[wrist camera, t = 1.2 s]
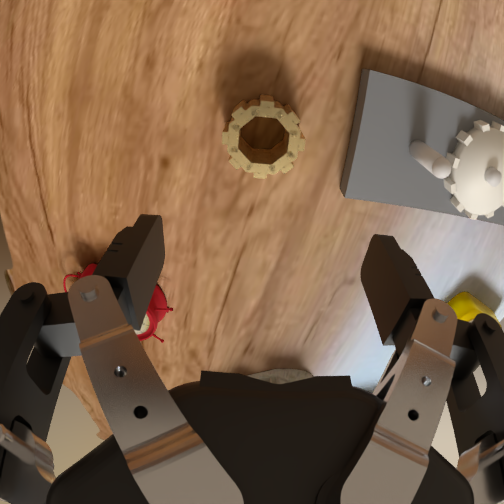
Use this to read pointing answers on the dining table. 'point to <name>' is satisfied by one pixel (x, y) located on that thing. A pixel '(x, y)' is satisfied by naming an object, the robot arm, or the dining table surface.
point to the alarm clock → (154, 310)
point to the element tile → (469, 307)
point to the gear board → (392, 136)
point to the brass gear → (263, 159)
